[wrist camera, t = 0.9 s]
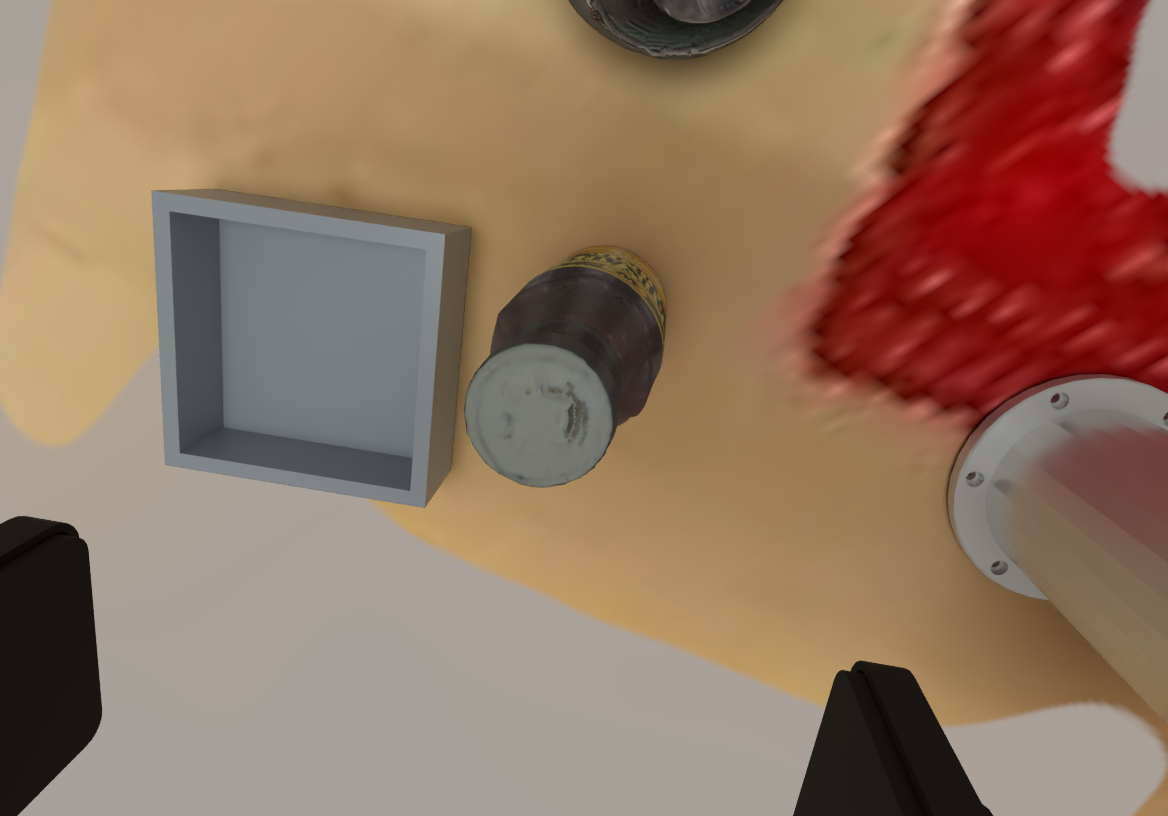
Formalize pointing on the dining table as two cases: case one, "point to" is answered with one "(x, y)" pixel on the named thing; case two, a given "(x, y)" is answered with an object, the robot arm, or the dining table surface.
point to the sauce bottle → (567, 367)
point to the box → (309, 342)
